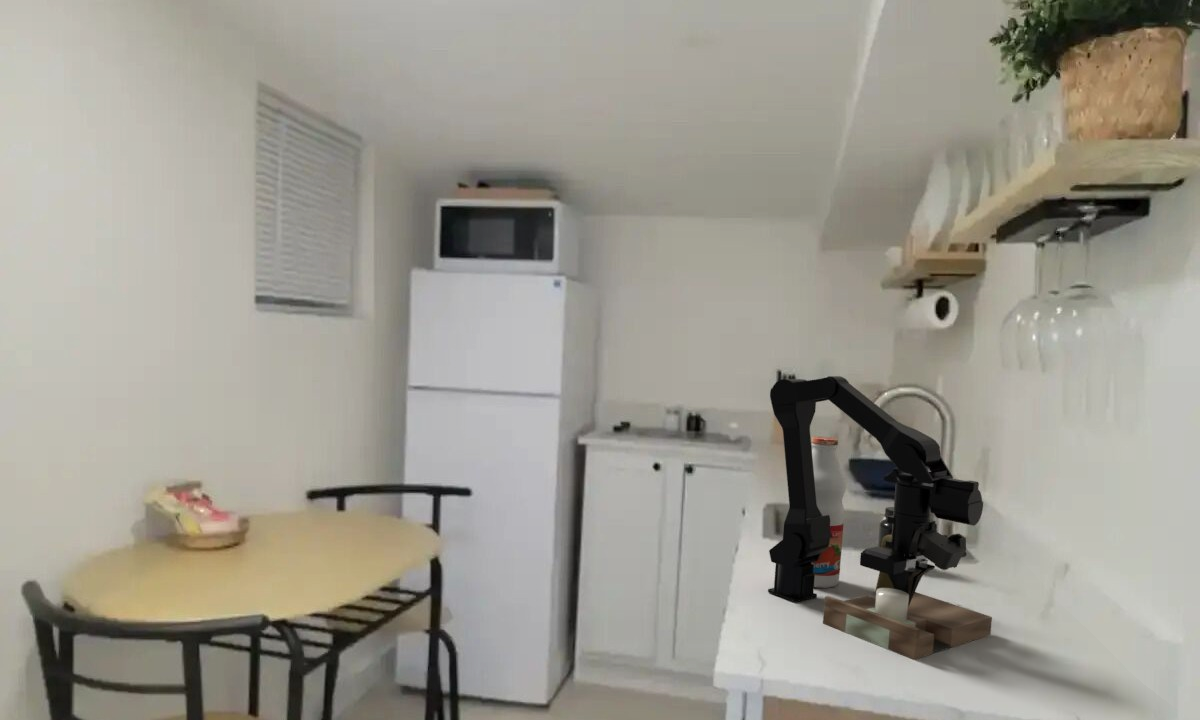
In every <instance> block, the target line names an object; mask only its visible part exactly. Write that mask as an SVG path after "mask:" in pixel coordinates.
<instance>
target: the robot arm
mask: <svg viewBox="0 0 1200 720" xmlns="http://www.w3.org/2000/svg"><path fill="white" fill-rule="evenodd" d="M769 398H770V403H771V407H772V411H773V415H774V417H775V419H776V420H777V422H778V423H779V425H780V427H781V429H782V438H783V439H782V440H783V448H784V449H783V450H784V459H785V471H786V473H785V474H786V482H787V494H788V504H789V505H788V510H787V514H786V516H785V519H784V522H783V524H782V525H783V527H782V540H780V541H779V542H778V543H776V544H775V545H774V546H772V548H770V549H769V551H768V553H769V557H770V561H771V563H774V564H775V570H774V571H775V572H774V581H773V582H774V584H773V587H771V588H768V589H767V592H768V593H770V594H772V595H775V596H778V597H780V598H783V599H786V600H787V601H791V602H793V603H795V602H796V603H797V602H801V601H806V600H810V599H814V598H817V597H818V594H817V593H815V592H814V588H815V587H814V578H815V575H814V574H813V569H814V565H813V564H811V563H810V562H814V561H818V560H819V558H820V555H821V553H823V552H824V551H825V550H826V549H827V548H828V547H829V542H830V538H832V537H833V536H832V534H831V531H830V516H829V515H825V516H822V514H821V512H820V510H819V509H818V507H817V503H816V492H815V481H814V470H813V459H812V449H813V447H812V442H811V441H812V438H811V424H812V422H813V419H814V417H815V413H816V408H817V407H816V406H817V403H818V402H826V401H830V402H831V403H832V404H833V405H835V406H836V407H837V408H838V409H839V410H840V411H841V412H842V413H844V414H845V415H846V416H848V418H850V419H851V420H853V421H854V423H856V424H857V425H858V426H860V427H861V428H863V429H864V431H866V432H867V433H869V434H870V436H872V437H873V438H874V439H876V441H877V442H878V443H879V444H880V446H881V448H882V451H883V452H884V455H886V456H887V458H888V459H889V460H890V461H891V462H892V463H893V464H894V465H895V466H896V467H895V468H893V469H892V470H891V471H890V472H889V473H887V475H884V476H883V478H882V480H883V481H884V482H887V483H893V484H895V488H894V489H895V491H894V501H893V502H894V503H893V507H894V513H893V516H888V520H887V522H888V523H892V524H893V526H892V540H888V541H886V547H888V548H892V549H893V550H889V549H886V548H882V547H878V546H875V547H869V548H865V549H864V550H863V551H861V552H860V556H859V557H860V558H859V565H860V566H862V567H864V568H868V569H871V570H874V571H877V572H883V573H886V574H888V576H889V578H890V580H891V582H892V584H893V587H894V589H897V590H901V591H904V592H906V593H908V594H909V602H908V606H909V605H910V602H911V600H912V598H913V595H914V593H915V592H916V591H917V588H918V586H919V584H920V582H921V579H922V577H923V576H924V575H925V574H928V573H929V572H930V571H932V570H934V569H935V568H938V569H940V570H942V571H947V570H949V569H952V568H953V569H956V568H957V567H958V565H959V563H960V561H961V559H962V558H965V557H967V552H966V551H967V538H966V537H965V536H964V535H962V534H961V533H959V532H958V533H954V534H951V535H950V536H948V535H947V534H941V533H940V532H938V531H937V528H938V524H937V523H936V522H937V521H935V520H932V519H931V514H934V516H935V517H936V518H937V519H941V520H943V521H944V520H945V521H949V522H954V523H959V524H964V525H969V526H972V527H973V526H976V525H977V524H978V523H979V522H980V519H981V517H982V514H983V509H984V501H983V497H982V493H981V491H980V490H979V485H980V483H979V482H978V481H977V480H962V479H956V478H954V476H953V475H952V473H951V471H950V469H949V468H948V466H947V465H946V463H945V460H943V457H942V456H941V455H942V454H941V447H940V445H939V443H938V442H937V441H936V440H935V439H934V438H932V437H930V436H929V435H927V434H925V433H923V432H921V431H919V430H918V429H915V428H914V427H910V426H908V425H905V424H903V423H901V422H899V421H898V420H896V419H895V418H893V417H892V416H891V415H890V414H889V413H887V412H886V411H885V410H883V409H882V408H881V407H879V406H878V405H877V404H876V403H874V402H873V401H872V400H871V399H870V398H869V397H867V396H866V395H865V394H863V393H862V392H861V391H859V389H857V388H856V387H854V386H853V385H852V384H850V382H849V381H848V380H847V379H846V378H845V377H843V376H840V375H839V376H838V375H831V376H829V375H827V376H824V377H823V378H818V379H812V380H811V379H809V380H807V379H803V378H797V379H796V378H793V379H791V378H790V379H789V378H787V379H786V378H785V379H784V378H783V379H779V380H778V381H776V382H775V383H774V384H773V386H772V387H771V388H770V391H769ZM929 561H930V562H931V563H932V564H934V565H932V564H929V563H928V562H929Z"/></svg>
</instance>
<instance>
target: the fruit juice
mask: <svg viewBox="0 0 1200 720" xmlns="http://www.w3.org/2000/svg"><path fill="white" fill-rule="evenodd" d="M838 445H839V441H838V438H835V437H830V436H819V435H818V436H817V435H816V436H813V437H812V438H811V447H812V459H813V470H814V481H815V492H816V503H817V507H818V509H819V510H820V512H821V514H822V516H825V515H829V516H830V531H831V534H832V536H833V537H832V538H830V542H829V547H828V548H827V549H826V550H825V551H824V552H823V553H821V555H820V558H819V560H818V561H814V562H810V563H811V564H813V565H814V569H813V574H814V575H815V578H814V588H818V589H819V588H821V589H822V588H823V589H824V588H825V589H826V588H833V587H836V586H837V585H838V584H839V580H840V574H841V573H840V572H841V560H842V549H843V548H842V546H843V536H844V523H845V508H844V505H843V498H844V496H845V492H846V488H847V486H846V485H847V483H846V482H847V481H846V479H845V477H844V475H843V472H842V470H841V466H840V463H839V458H838V456H837V450H836V449H838Z"/></svg>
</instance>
